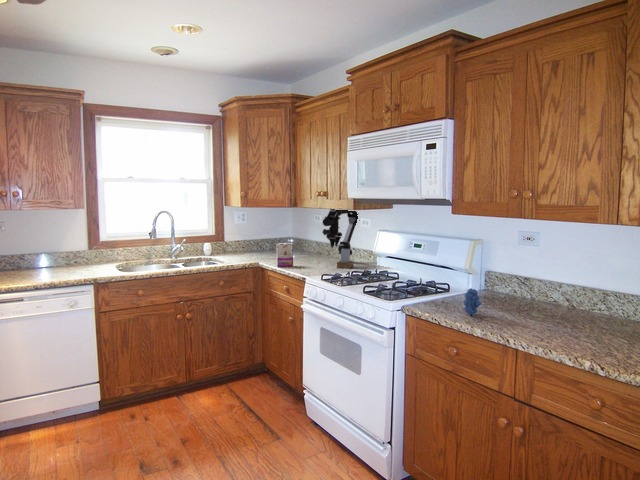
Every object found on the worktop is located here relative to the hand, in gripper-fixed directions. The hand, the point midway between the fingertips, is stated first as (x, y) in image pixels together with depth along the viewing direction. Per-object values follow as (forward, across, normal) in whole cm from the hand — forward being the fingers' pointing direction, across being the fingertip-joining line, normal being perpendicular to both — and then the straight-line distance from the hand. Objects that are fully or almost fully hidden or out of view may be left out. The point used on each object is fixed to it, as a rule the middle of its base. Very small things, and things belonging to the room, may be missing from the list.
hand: (334, 246), depth 324 cm
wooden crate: (+13, +10, +12) cm, 20 cm away
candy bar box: (+13, +22, -29) cm, 39 cm away
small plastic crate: (+12, +10, +12) cm, 19 cm away
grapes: (+13, +109, +99) cm, 148 cm away
